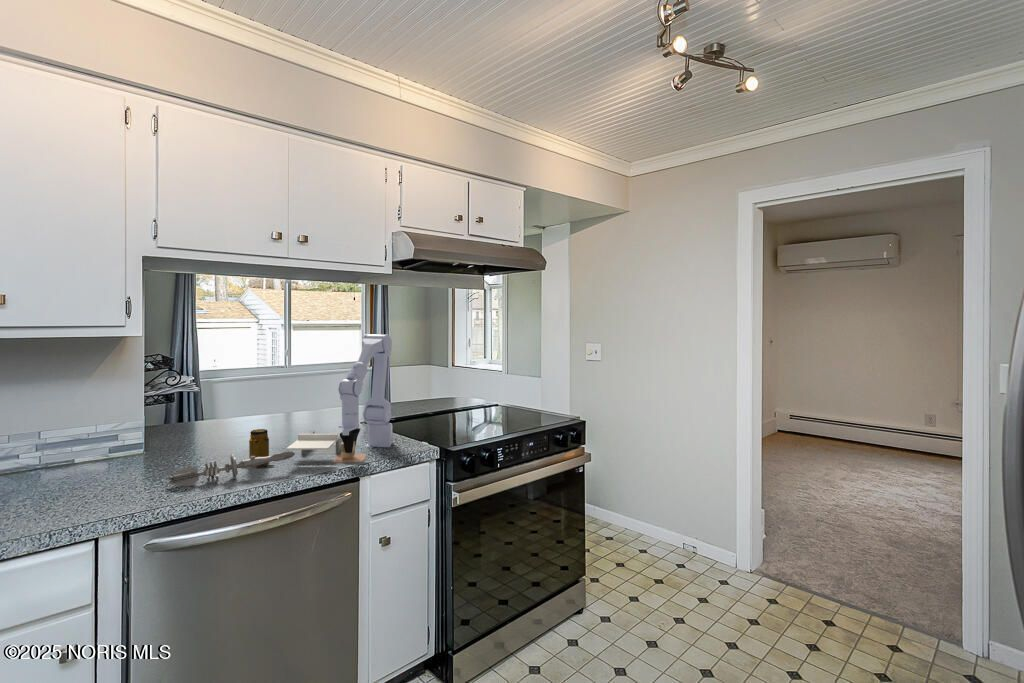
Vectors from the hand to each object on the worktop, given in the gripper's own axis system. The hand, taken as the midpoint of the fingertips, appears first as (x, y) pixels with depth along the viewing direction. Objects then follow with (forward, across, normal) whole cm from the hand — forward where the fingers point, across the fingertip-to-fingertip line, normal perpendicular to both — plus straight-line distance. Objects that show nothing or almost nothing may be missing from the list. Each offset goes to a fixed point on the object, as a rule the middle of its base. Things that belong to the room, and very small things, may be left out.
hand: (350, 450), depth 183 cm
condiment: (+3, +6, -28) cm, 29 cm away
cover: (-3, +3, -12) cm, 13 cm away
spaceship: (+3, +20, -31) cm, 37 cm away
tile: (+3, 0, 0) cm, 3 cm away
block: (+2, 0, -1) cm, 2 cm away
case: (+3, -12, -12) cm, 17 cm away
